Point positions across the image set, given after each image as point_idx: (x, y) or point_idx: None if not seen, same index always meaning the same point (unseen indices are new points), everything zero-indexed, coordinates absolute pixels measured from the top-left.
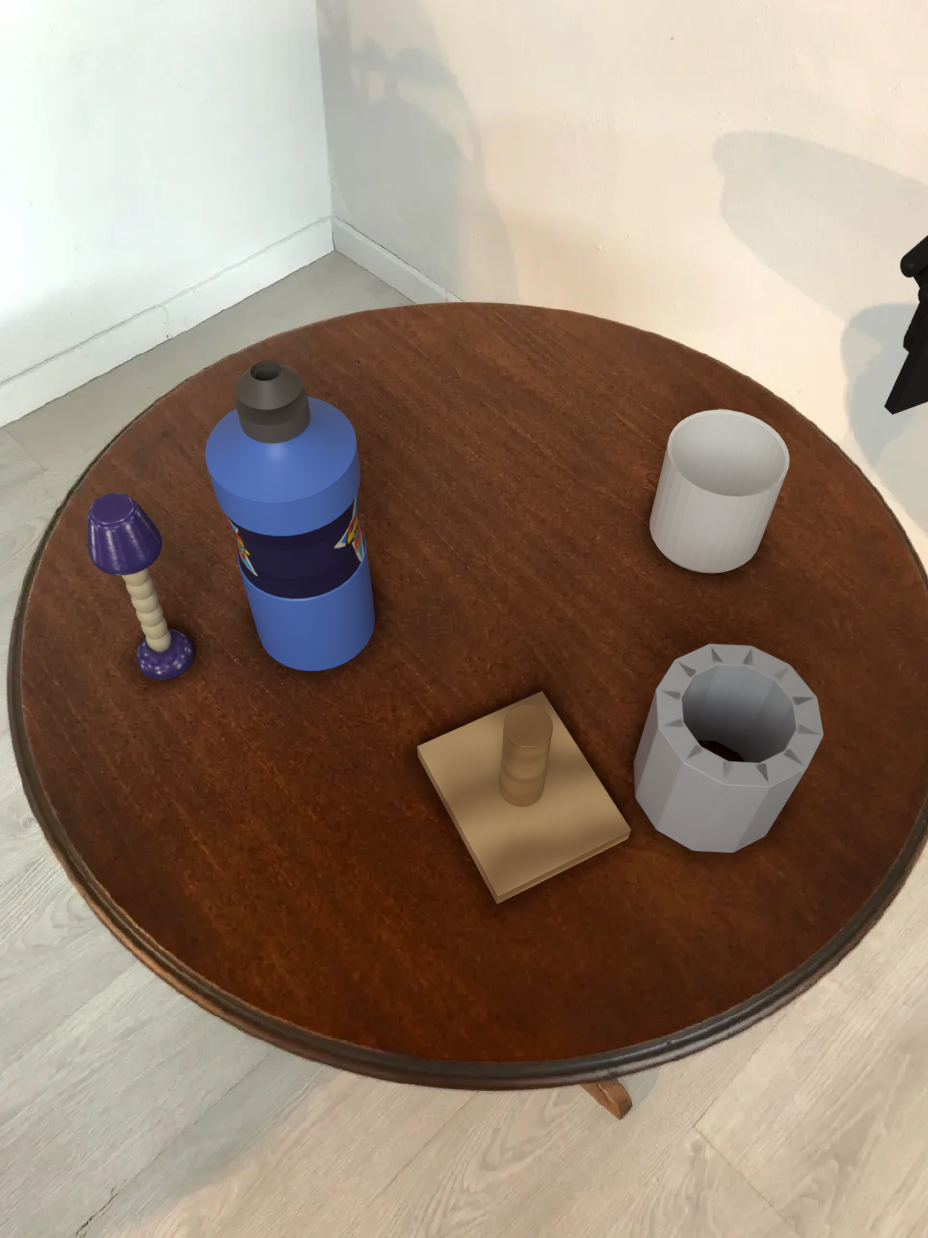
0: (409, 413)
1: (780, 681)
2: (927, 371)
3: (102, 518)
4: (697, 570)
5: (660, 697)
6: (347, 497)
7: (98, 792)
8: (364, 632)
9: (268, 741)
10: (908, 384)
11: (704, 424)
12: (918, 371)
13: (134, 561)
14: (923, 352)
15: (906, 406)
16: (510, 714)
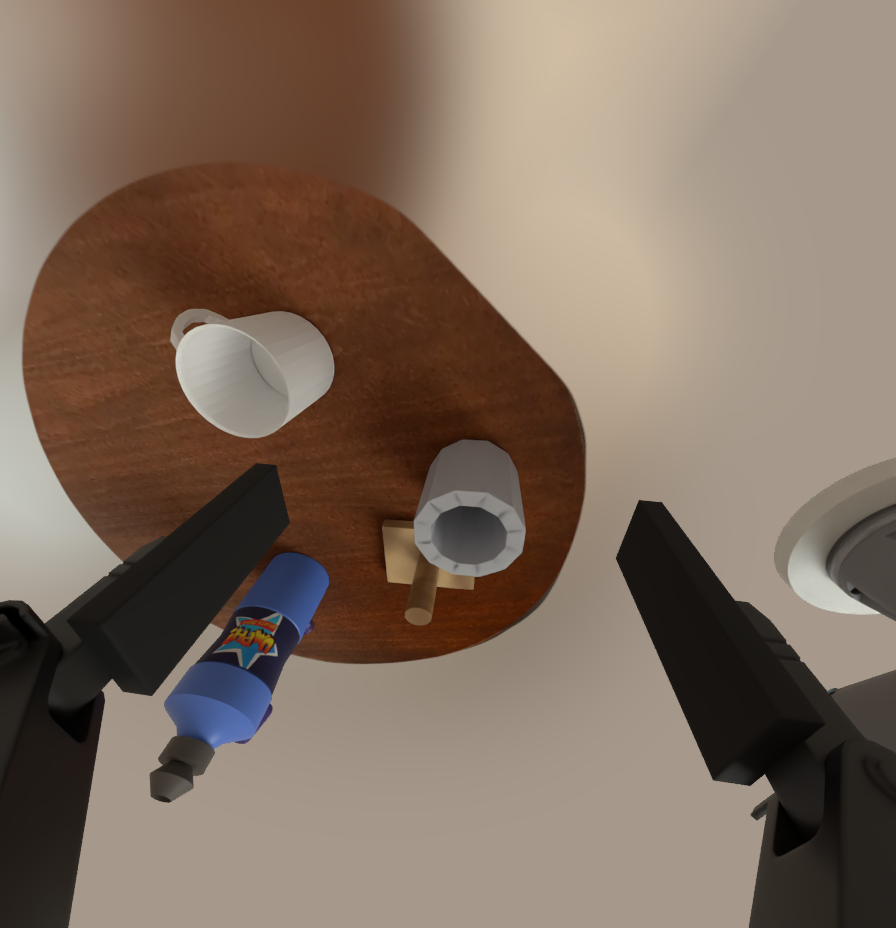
0: (146, 474)
1: (462, 503)
2: (238, 546)
3: (243, 742)
4: (327, 390)
5: (435, 563)
6: (252, 686)
7: (357, 653)
8: (315, 573)
9: (358, 610)
10: (256, 560)
11: (191, 366)
12: (239, 572)
13: (266, 714)
14: (210, 616)
15: (281, 509)
16: (407, 619)
